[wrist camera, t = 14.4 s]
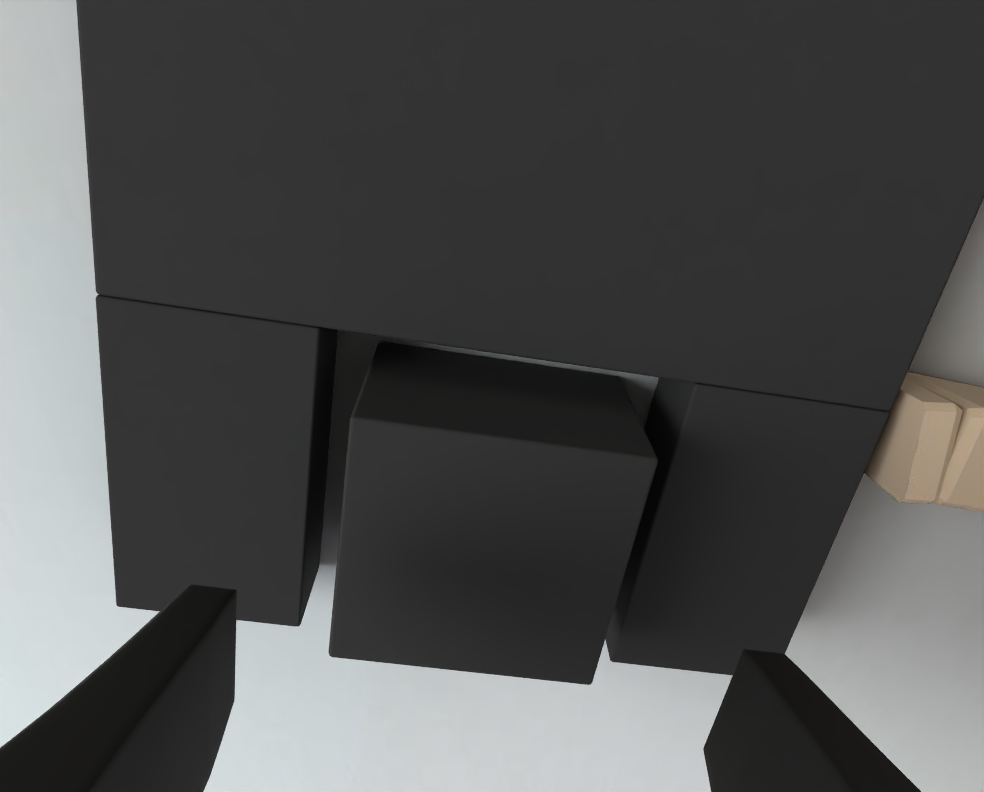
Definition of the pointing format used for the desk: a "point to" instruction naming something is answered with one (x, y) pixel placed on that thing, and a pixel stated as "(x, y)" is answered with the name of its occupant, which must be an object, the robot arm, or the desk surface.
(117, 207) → the black slab with blocks
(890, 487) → the toy figure
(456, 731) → the desk surface
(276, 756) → the desk surface
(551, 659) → the small block
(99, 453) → the desk surface
